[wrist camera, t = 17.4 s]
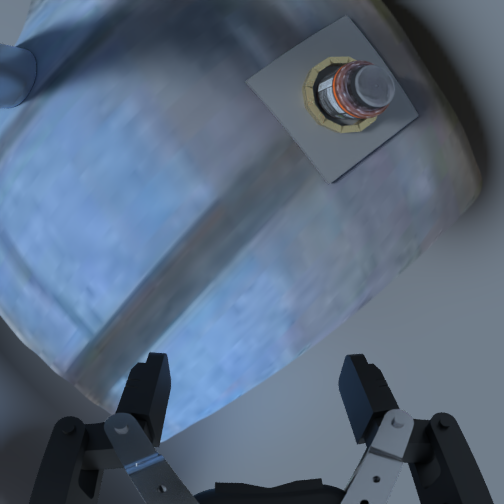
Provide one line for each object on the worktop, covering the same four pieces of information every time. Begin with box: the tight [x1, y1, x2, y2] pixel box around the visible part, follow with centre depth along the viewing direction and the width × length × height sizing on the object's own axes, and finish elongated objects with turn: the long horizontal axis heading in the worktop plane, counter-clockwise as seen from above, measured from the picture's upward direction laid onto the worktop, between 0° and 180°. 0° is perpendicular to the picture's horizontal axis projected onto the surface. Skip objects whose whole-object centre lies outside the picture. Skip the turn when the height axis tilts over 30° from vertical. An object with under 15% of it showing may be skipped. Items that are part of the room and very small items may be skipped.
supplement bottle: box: [317, 60, 395, 119], centre depth 28 cm, size 6×6×11 cm
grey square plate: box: [245, 15, 419, 185], centre depth 34 cm, size 16×16×1 cm
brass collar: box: [302, 56, 377, 133], centre depth 32 cm, size 9×9×2 cm
